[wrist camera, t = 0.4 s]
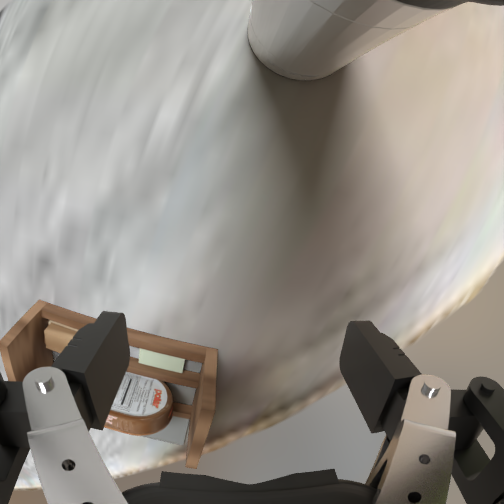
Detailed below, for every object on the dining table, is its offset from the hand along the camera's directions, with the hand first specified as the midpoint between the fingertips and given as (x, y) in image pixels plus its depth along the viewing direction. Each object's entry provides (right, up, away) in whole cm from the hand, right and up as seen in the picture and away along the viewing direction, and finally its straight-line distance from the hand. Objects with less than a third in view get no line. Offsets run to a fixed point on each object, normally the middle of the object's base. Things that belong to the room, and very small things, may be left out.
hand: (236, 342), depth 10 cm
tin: (-16, -11, +22) cm, 29 cm away
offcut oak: (-19, -6, +18) cm, 27 cm away
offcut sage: (-9, -8, +22) cm, 25 cm away
